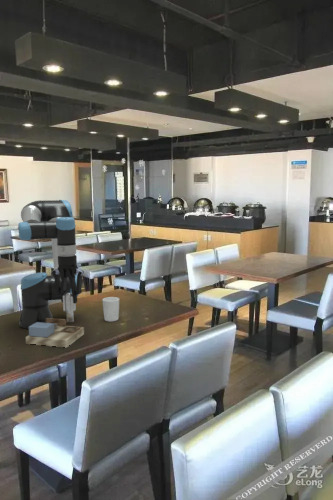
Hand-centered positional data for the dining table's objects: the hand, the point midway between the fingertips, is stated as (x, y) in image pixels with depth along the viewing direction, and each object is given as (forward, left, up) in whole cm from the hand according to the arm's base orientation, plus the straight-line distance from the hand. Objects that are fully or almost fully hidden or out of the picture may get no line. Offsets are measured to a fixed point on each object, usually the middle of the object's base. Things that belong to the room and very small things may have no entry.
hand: (69, 310), depth 171 cm
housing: (-9, -7, -9) cm, 14 cm away
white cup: (+8, +26, -12) cm, 30 cm away
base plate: (-5, -3, -12) cm, 13 cm away
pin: (0, 0, -5) cm, 5 cm away
